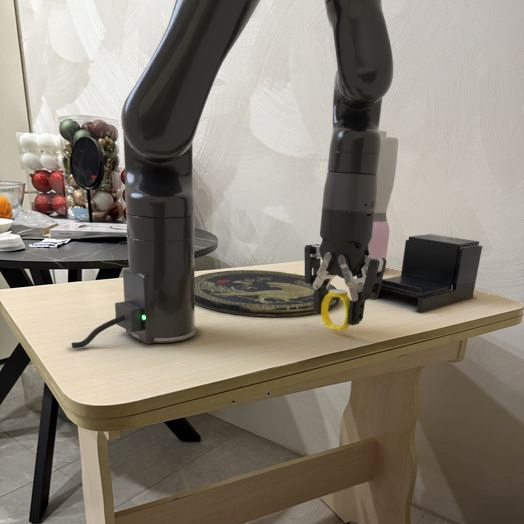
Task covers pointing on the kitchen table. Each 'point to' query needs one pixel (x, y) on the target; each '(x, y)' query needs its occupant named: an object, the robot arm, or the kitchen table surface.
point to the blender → (383, 196)
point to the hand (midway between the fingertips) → (336, 318)
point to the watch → (325, 305)
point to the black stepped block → (436, 270)
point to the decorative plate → (257, 293)
